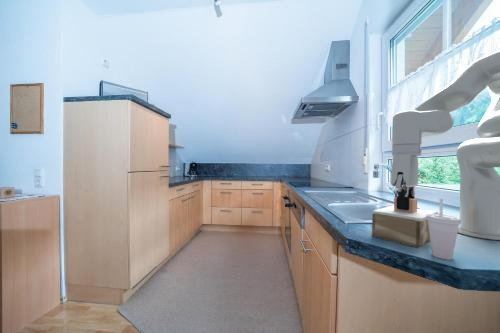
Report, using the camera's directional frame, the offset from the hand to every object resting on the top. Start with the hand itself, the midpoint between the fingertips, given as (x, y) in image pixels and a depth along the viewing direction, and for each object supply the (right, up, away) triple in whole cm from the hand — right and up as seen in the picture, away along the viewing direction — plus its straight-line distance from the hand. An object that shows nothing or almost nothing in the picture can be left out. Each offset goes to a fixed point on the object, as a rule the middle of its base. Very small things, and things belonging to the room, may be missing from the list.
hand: (405, 208), depth 68 cm
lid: (0, -2, 0) cm, 2 cm away
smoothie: (-2, -9, -16) cm, 18 cm away
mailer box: (-1, -9, -1) cm, 9 cm away
